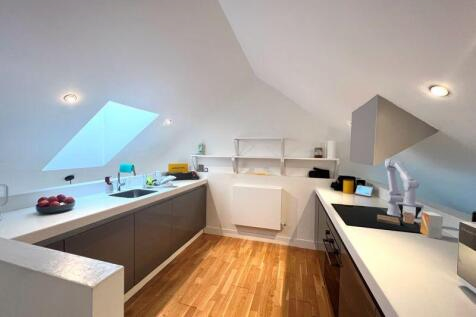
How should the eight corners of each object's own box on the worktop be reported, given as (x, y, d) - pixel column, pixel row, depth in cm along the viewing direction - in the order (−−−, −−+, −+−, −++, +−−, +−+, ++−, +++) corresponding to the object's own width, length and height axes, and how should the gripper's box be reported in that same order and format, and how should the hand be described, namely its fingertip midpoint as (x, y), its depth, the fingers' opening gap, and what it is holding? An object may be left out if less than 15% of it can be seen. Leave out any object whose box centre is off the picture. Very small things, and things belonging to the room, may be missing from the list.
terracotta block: (403, 220, 146) (403, 212, 146) (412, 221, 143) (412, 213, 143) (404, 222, 142) (404, 213, 142) (413, 223, 139) (414, 215, 139)
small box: (419, 232, 124) (421, 210, 124) (432, 233, 122) (434, 212, 122) (427, 237, 116) (429, 214, 116) (441, 239, 115) (443, 216, 114)
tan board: (377, 217, 151) (377, 214, 151) (397, 220, 145) (397, 217, 145) (377, 221, 141) (378, 218, 141) (399, 225, 135) (400, 222, 135)
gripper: (397, 196, 142) (396, 216, 143) (425, 200, 135) (423, 220, 135) (396, 195, 148) (395, 213, 149) (422, 198, 141) (421, 217, 141)
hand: (408, 216), depth 142 cm, fingers open, 7 cm apart
